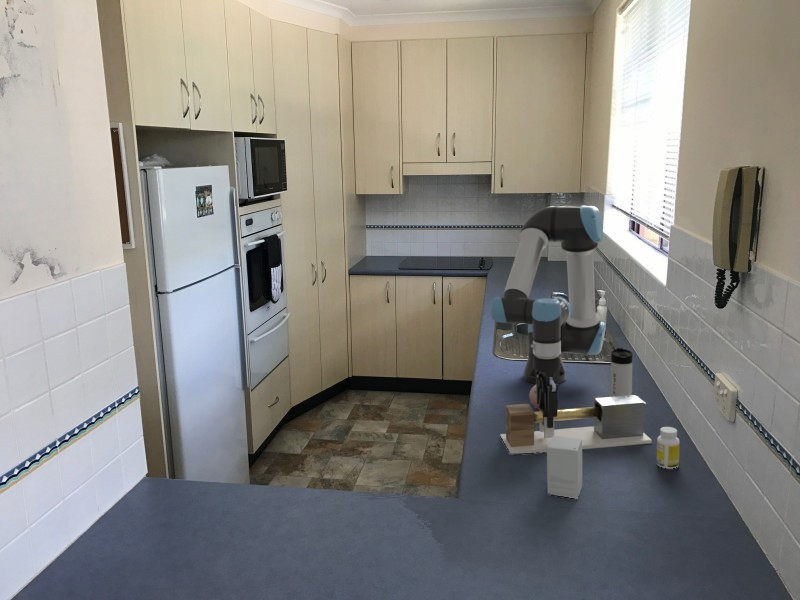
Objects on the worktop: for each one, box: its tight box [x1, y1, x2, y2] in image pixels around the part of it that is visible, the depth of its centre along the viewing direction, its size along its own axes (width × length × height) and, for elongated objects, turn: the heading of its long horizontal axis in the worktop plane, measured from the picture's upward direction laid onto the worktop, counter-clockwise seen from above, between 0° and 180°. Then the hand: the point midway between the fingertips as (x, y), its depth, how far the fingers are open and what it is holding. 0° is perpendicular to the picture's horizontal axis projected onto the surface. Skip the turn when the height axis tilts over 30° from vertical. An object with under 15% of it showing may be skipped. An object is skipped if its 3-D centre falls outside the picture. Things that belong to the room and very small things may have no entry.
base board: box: [499, 425, 653, 454], centre depth 186 cm, size 12×40×1 cm, turn 95°
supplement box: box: [546, 435, 583, 500], centre depth 157 cm, size 7×7×13 cm
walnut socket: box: [505, 403, 535, 447], centre depth 183 cm, size 6×6×10 cm
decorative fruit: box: [528, 384, 540, 410], centre depth 207 cm, size 9×8×10 cm
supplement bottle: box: [656, 426, 681, 470], centre depth 168 cm, size 5×5×10 cm
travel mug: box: [609, 347, 633, 397], centre depth 202 cm, size 6×7×20 cm
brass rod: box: [534, 406, 601, 426], centre depth 184 cm, size 4×26×4 cm, turn 95°
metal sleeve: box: [593, 394, 647, 439], centre depth 186 cm, size 6×13×10 cm, turn 95°
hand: (546, 434), depth 185 cm, fingers closed on brass rod, 3 cm apart
